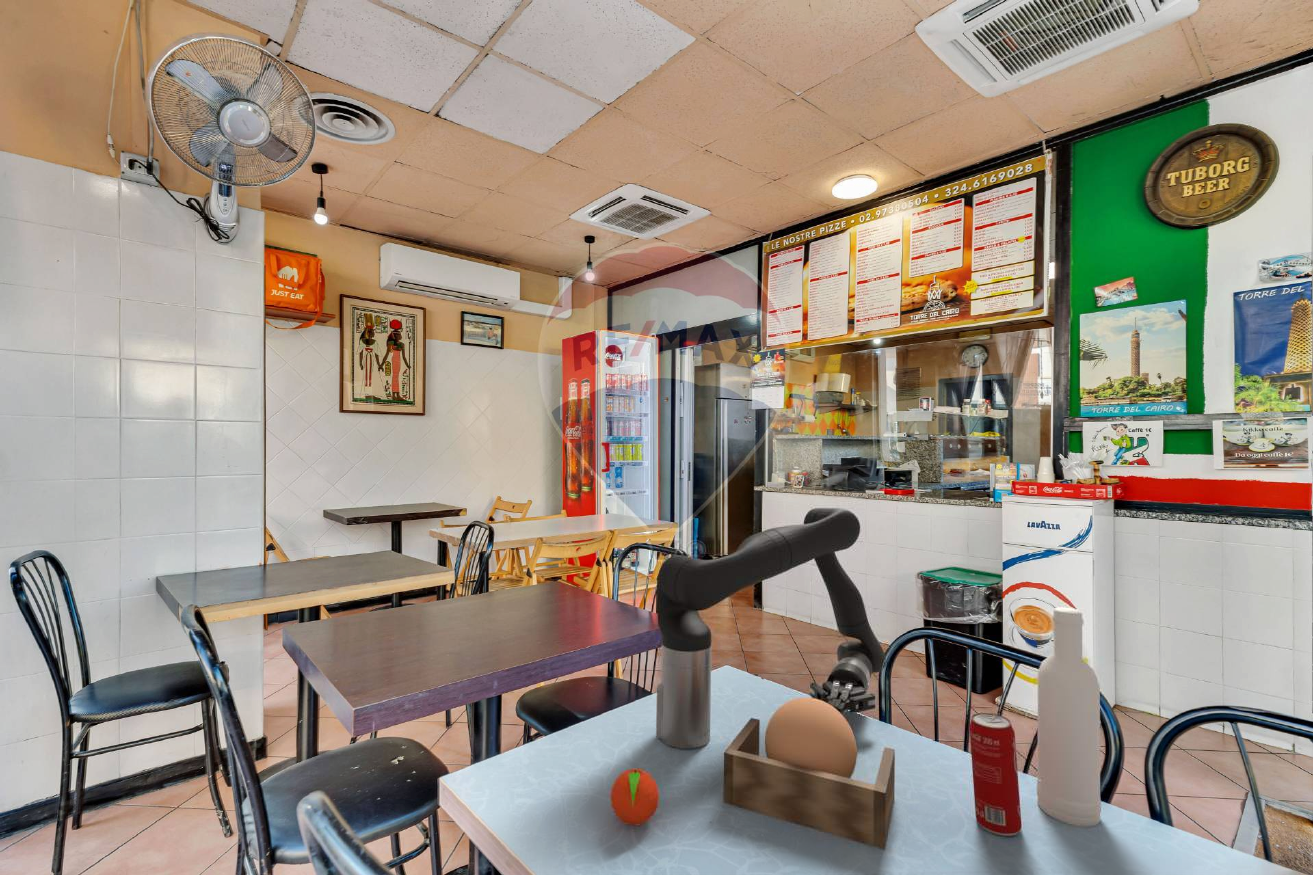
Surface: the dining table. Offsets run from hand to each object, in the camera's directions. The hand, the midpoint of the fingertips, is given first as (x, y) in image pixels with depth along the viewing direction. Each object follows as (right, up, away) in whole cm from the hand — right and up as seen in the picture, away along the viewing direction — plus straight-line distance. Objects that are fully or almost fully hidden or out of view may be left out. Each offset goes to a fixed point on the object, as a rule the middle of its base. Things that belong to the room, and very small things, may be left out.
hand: (833, 712), depth 109 cm
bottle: (+29, -6, -19) cm, 36 cm away
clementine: (-35, -5, -24) cm, 43 cm away
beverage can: (+16, -6, -23) cm, 29 cm away
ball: (-8, +2, -15) cm, 17 cm away
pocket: (-9, -5, -17) cm, 20 cm away
